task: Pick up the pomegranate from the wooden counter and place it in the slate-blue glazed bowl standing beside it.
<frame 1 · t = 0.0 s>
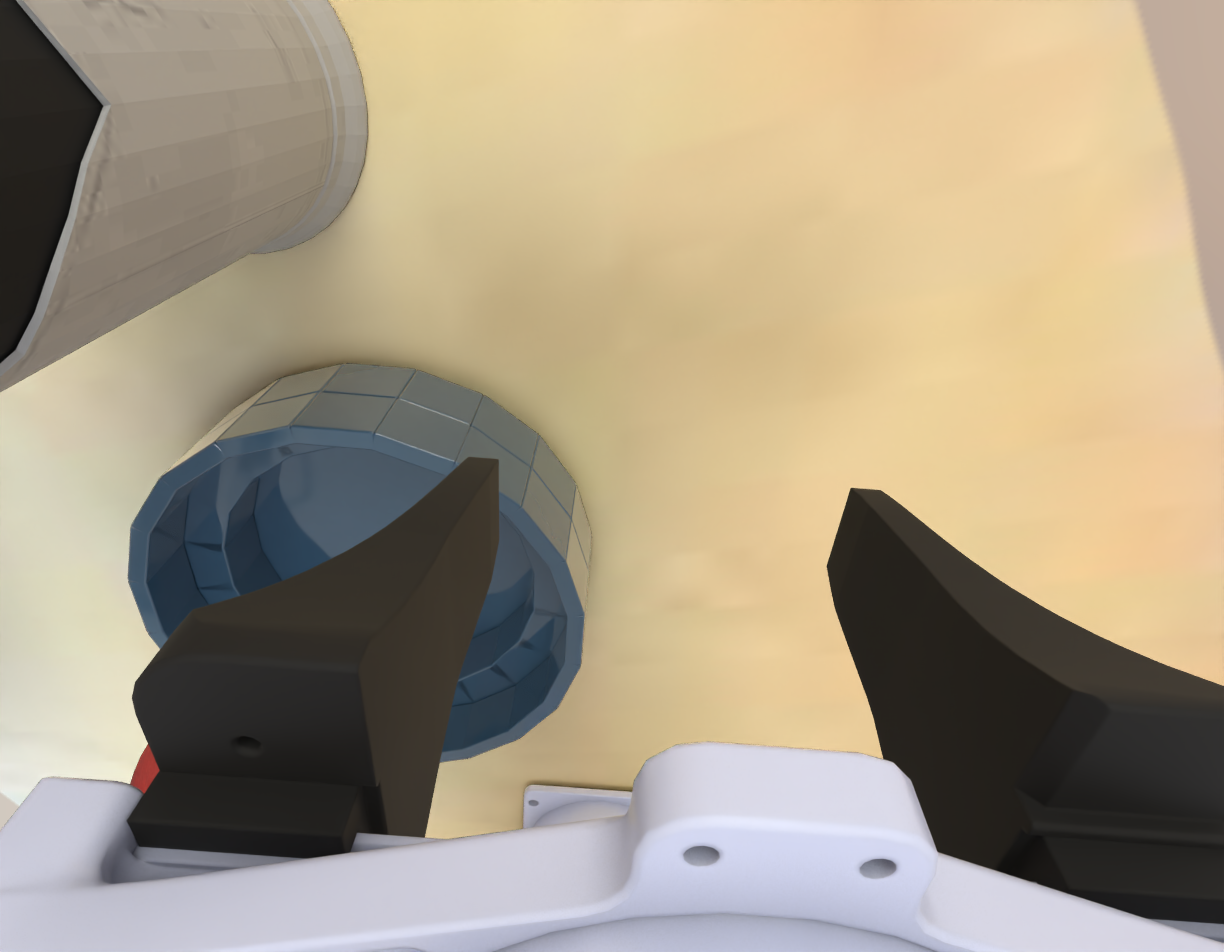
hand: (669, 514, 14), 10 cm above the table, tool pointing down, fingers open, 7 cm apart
pomegranate: (254, 703, 33), on the table
bowl: (403, 534, 28), on the table
glass holder: (128, 0, 19), on the table
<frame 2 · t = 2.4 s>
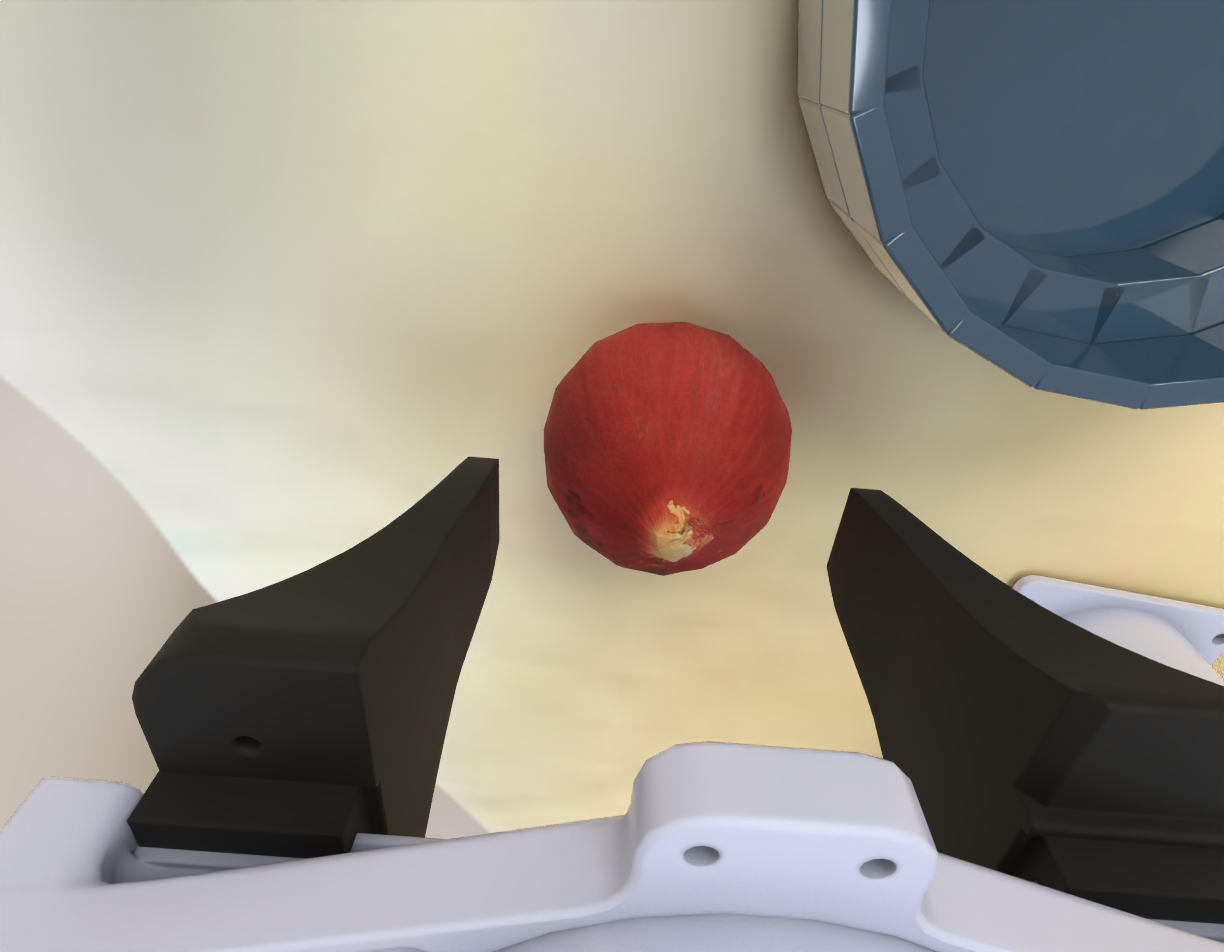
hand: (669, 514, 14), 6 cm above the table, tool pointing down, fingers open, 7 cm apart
pomegranate: (659, 380, 20), on the table
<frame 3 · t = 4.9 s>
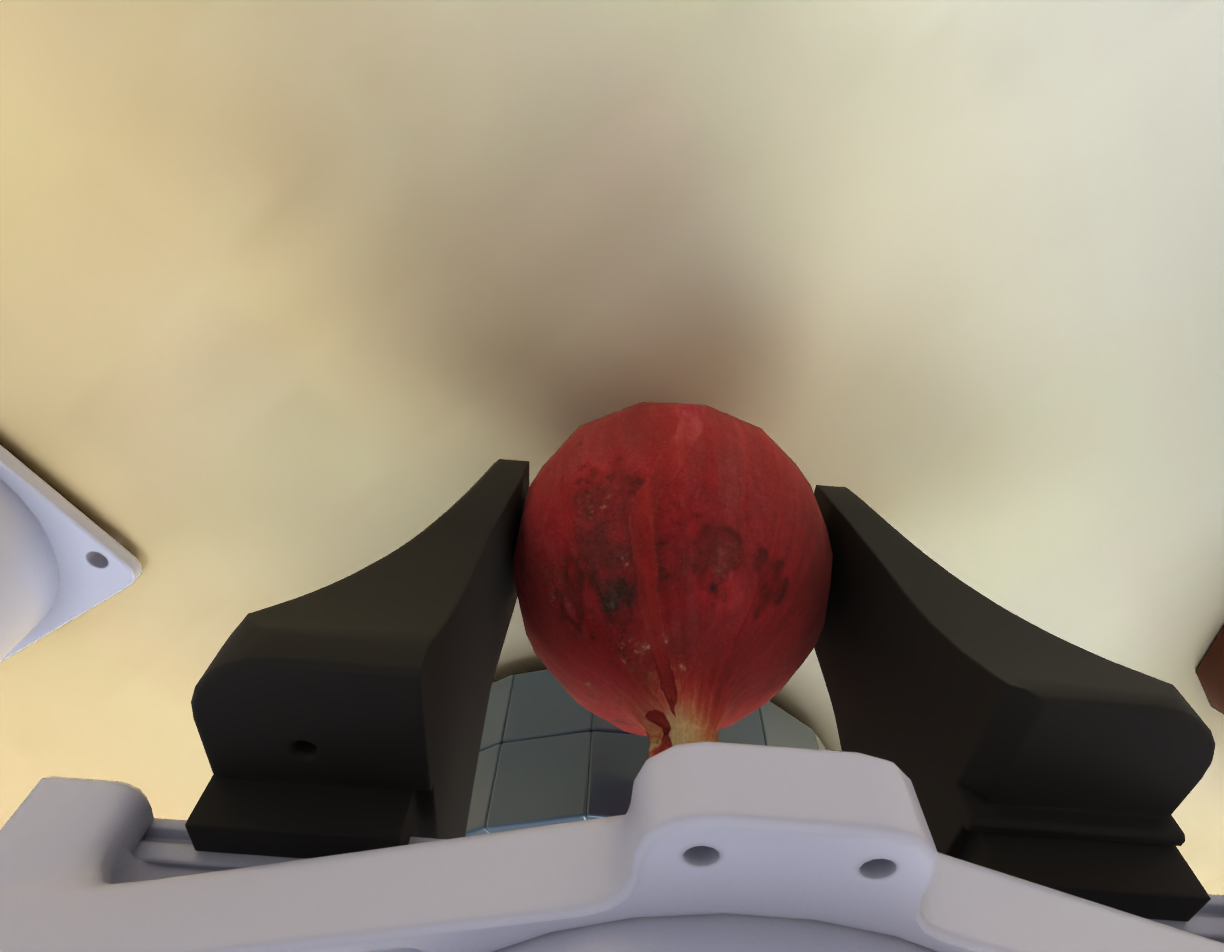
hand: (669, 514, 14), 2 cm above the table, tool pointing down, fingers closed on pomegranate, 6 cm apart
pomegranate: (662, 455, 16), on the table, touching gripper
bowl: (616, 808, 24), on the table
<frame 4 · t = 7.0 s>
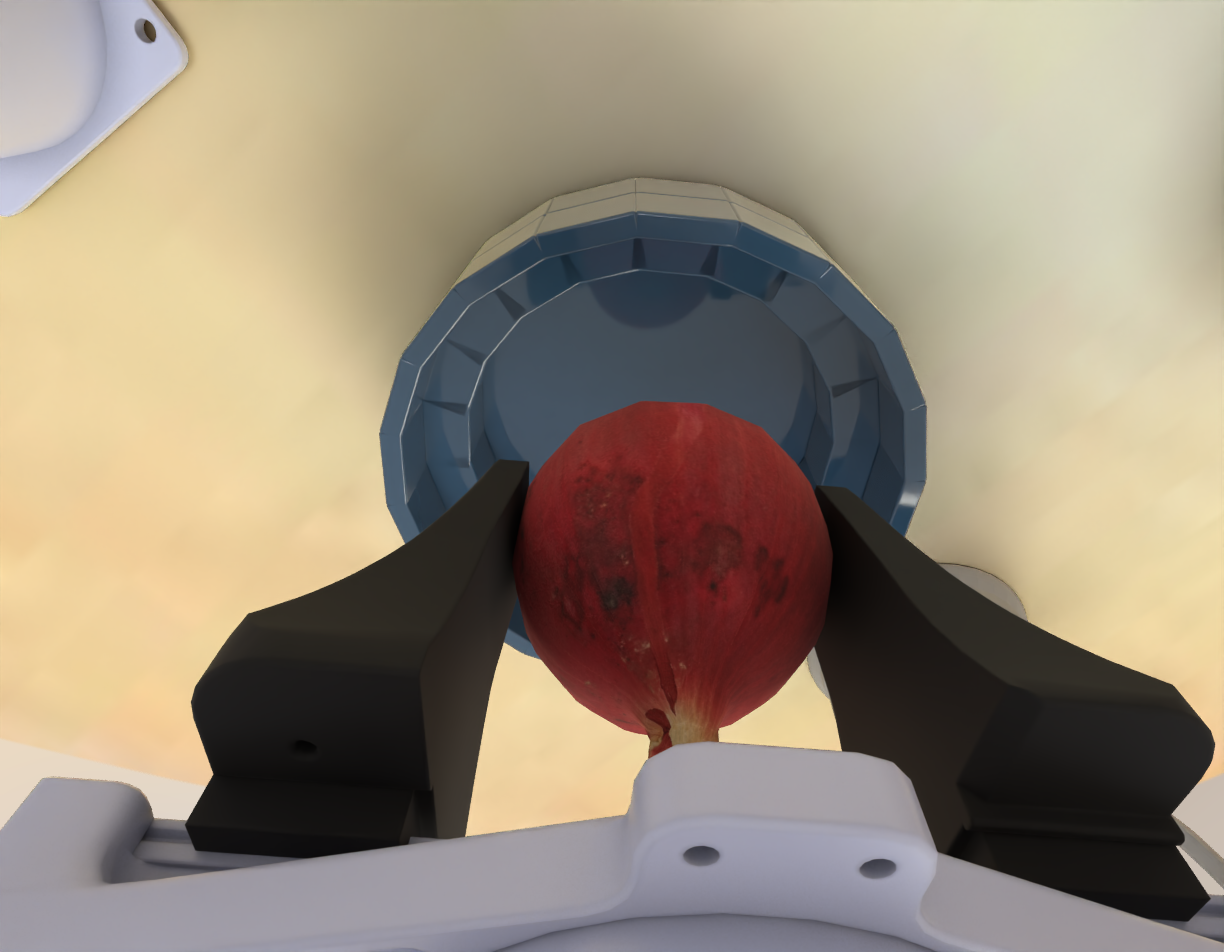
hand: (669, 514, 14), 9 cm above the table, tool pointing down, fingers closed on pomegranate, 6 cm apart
pomegranate: (663, 454, 16), point 7 cm above the table, touching gripper
bowl: (647, 412, 24), on the table
glass holder: (970, 658, 30), on the table
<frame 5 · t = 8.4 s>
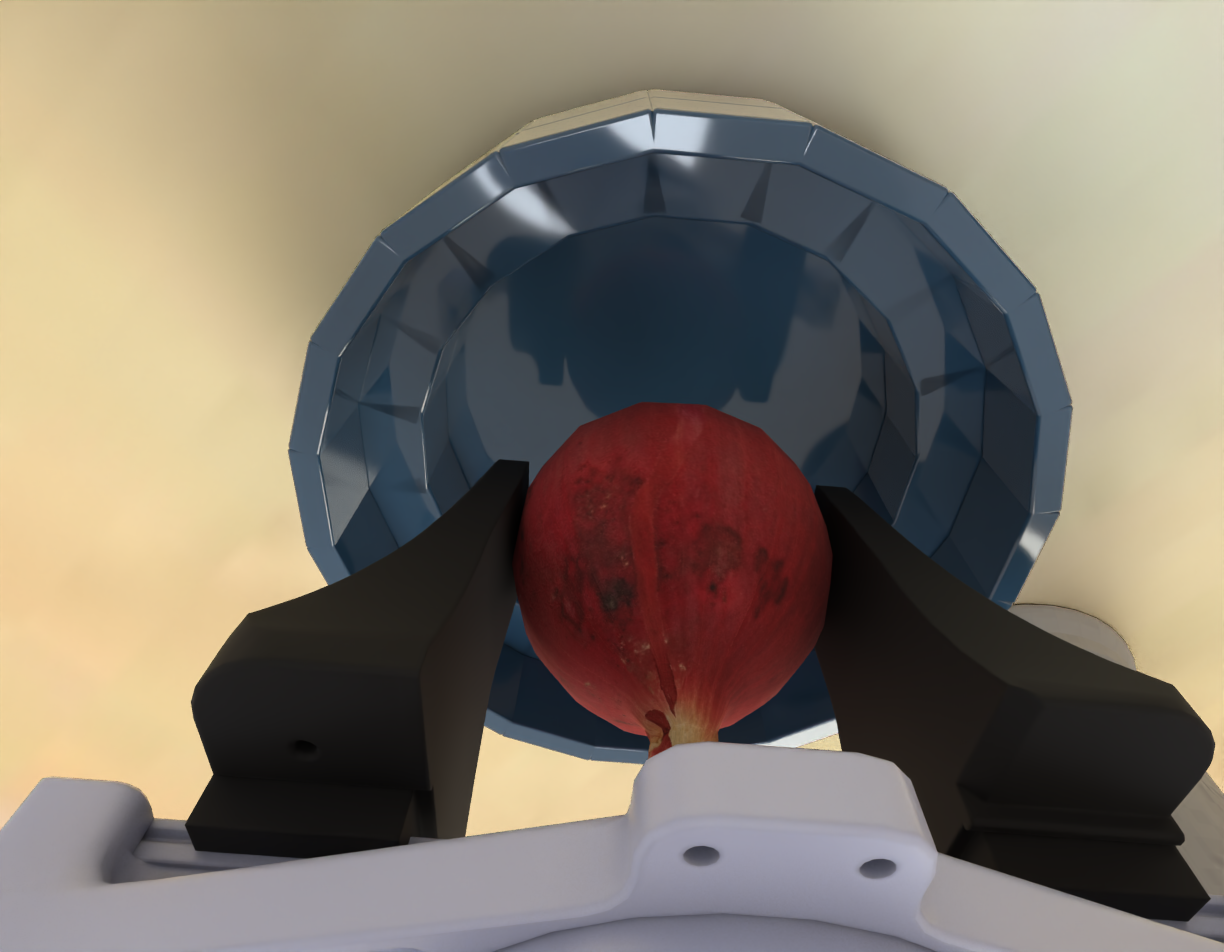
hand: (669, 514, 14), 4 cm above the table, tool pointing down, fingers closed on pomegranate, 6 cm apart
pomegranate: (662, 454, 16), point 2 cm above the table, touching gripper
bowl: (662, 416, 18), on the table
glass holder: (1059, 715, 24), on the table
when the fingers open (3 cm above the table, at t = 9.5 s): pomegranate stays where it is, resting on bowl.
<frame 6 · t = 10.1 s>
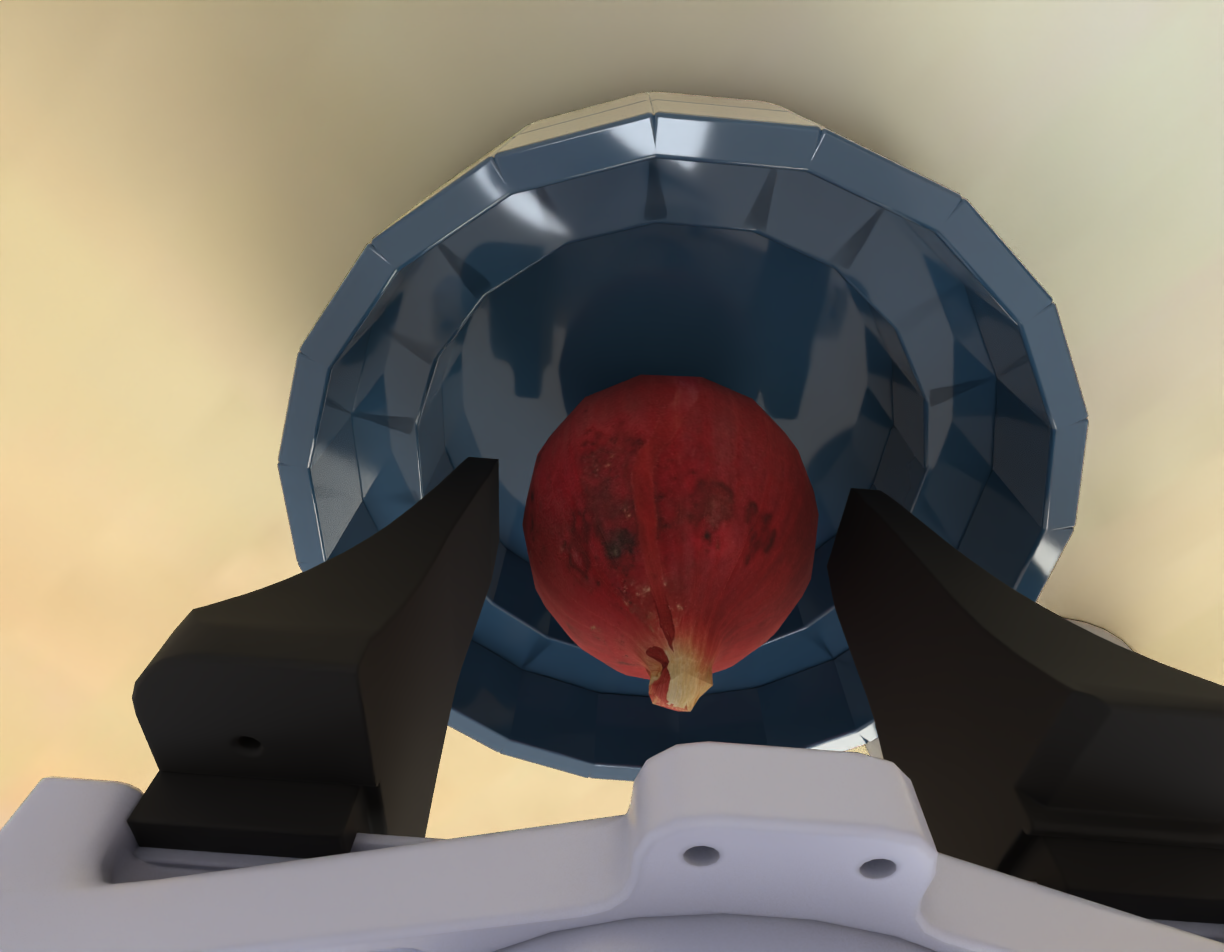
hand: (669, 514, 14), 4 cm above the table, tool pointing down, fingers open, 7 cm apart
pomegranate: (661, 430, 18), resting on bowl
bowl: (663, 425, 18), on the table
glass holder: (1068, 728, 24), on the table
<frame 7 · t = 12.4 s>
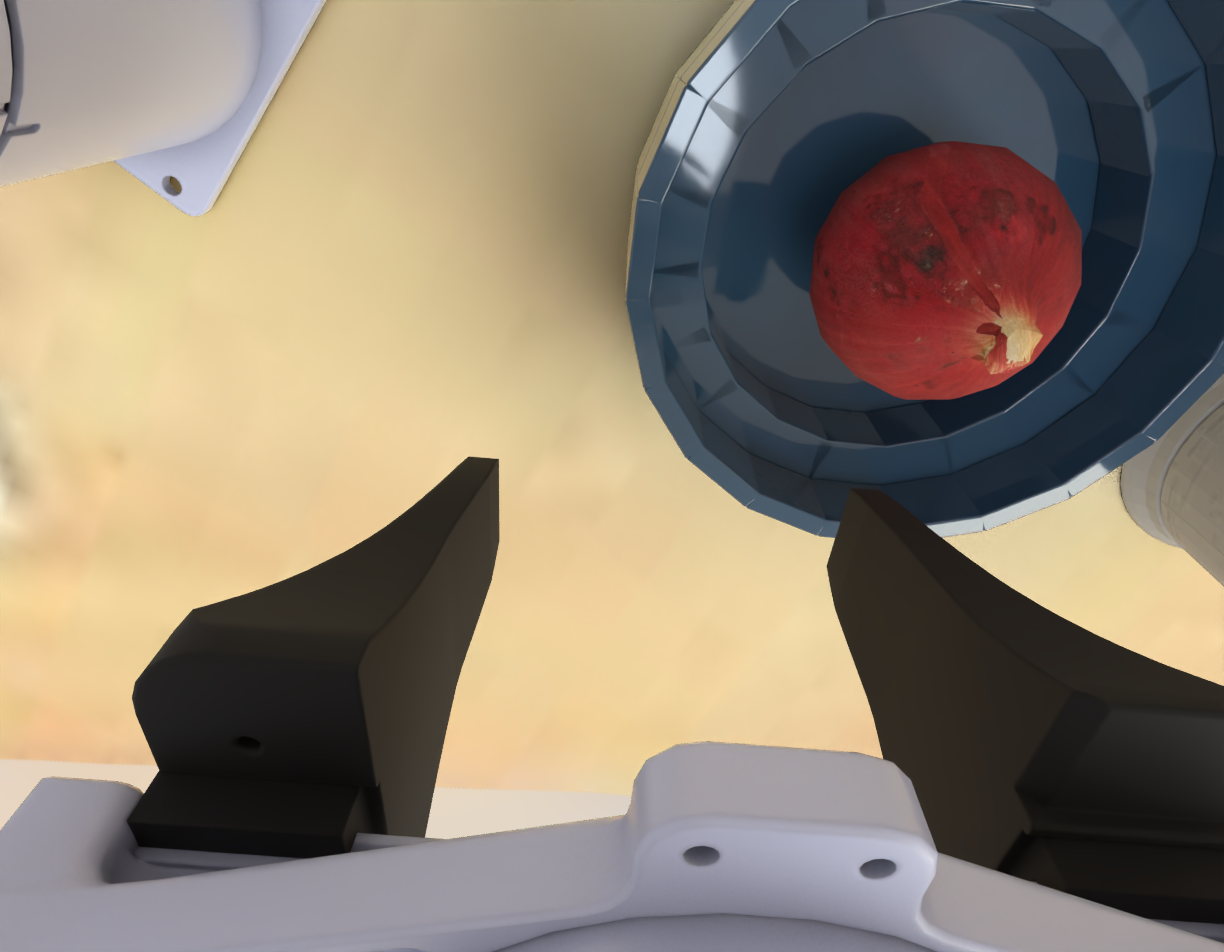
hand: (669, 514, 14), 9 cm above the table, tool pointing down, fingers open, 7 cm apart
pomegranate: (886, 236, 20), resting on bowl
bowl: (884, 234, 20), on the table
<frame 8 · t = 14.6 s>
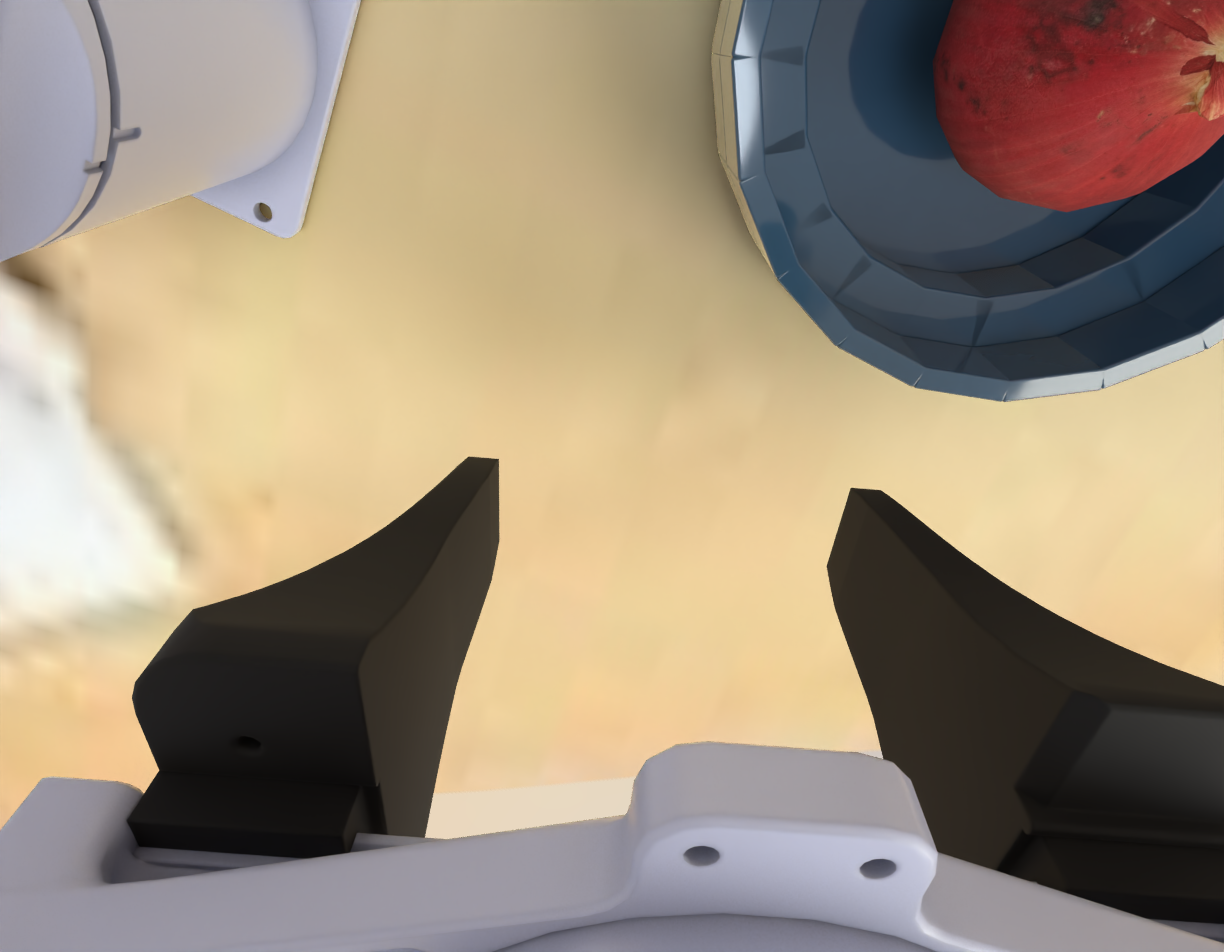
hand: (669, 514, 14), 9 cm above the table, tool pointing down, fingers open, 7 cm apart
pomegranate: (1005, 53, 18), resting on bowl
bowl: (1002, 52, 18), on the table
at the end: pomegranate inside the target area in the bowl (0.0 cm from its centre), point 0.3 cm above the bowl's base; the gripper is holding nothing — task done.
